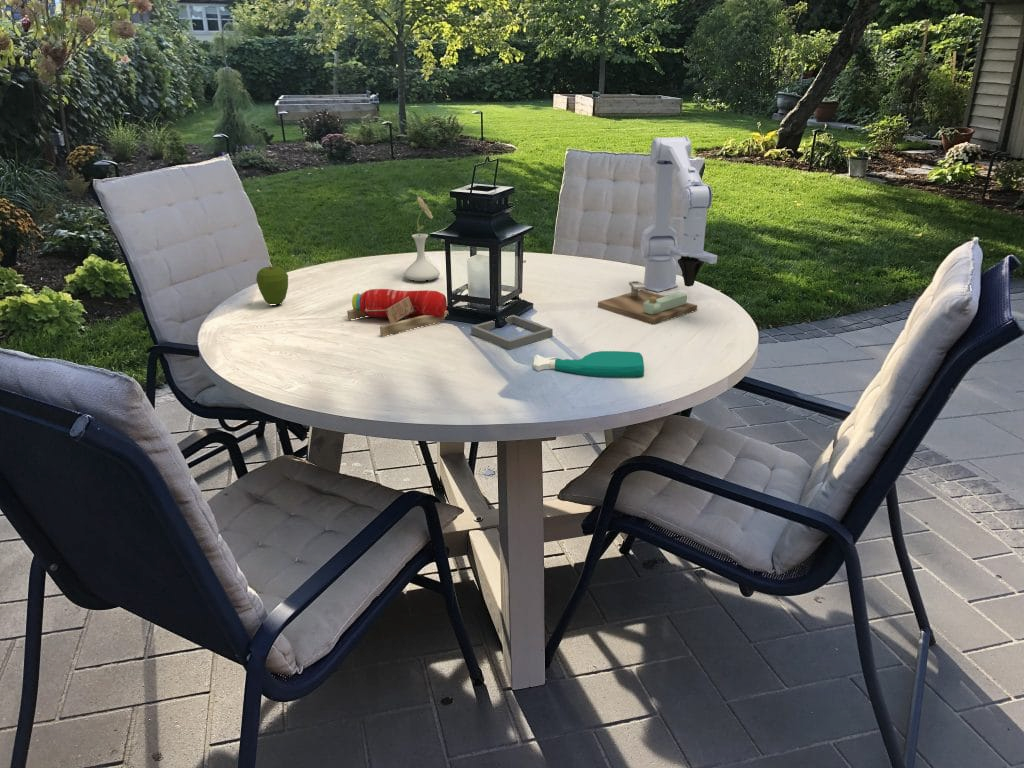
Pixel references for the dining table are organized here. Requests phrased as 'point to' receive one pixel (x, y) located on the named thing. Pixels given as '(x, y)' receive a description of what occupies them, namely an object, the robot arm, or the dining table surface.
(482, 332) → the mousse rim
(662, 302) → the link
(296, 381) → the dining table surface
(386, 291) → the water bottle
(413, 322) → the bottle cradle
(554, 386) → the dining table surface
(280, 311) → the dining table surface
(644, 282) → the robot arm
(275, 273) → the apple
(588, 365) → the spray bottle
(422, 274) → the flower in vase
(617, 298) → the board
